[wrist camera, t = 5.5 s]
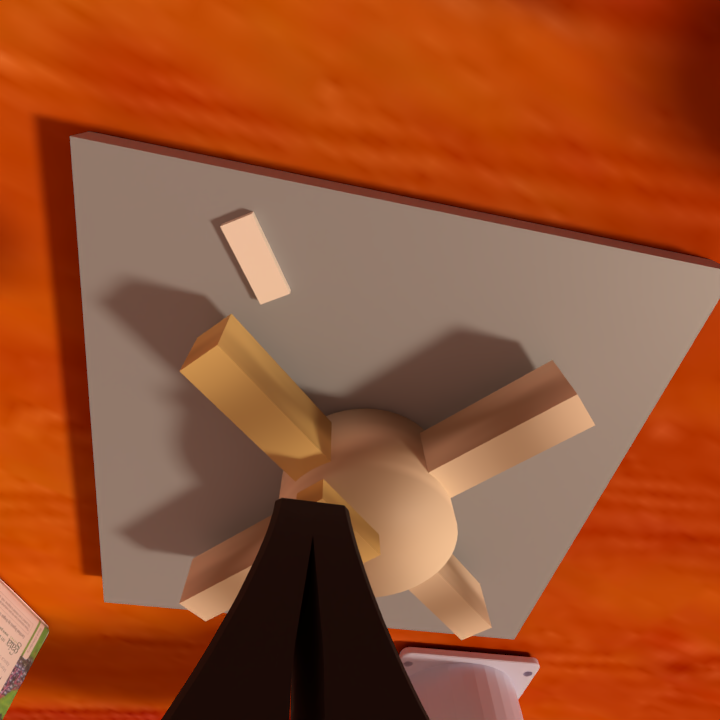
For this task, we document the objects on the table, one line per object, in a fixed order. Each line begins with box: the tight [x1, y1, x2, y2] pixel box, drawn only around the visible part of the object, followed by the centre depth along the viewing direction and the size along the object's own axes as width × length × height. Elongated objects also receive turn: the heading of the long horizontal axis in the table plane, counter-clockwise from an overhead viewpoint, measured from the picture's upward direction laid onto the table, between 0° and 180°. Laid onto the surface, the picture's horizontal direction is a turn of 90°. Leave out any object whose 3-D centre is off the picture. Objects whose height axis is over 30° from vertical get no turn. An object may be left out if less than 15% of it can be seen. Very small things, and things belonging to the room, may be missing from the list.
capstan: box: [179, 314, 595, 640], centre depth 17 cm, size 12×12×4 cm
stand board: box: [70, 131, 720, 639], centre depth 20 cm, size 20×20×2 cm
